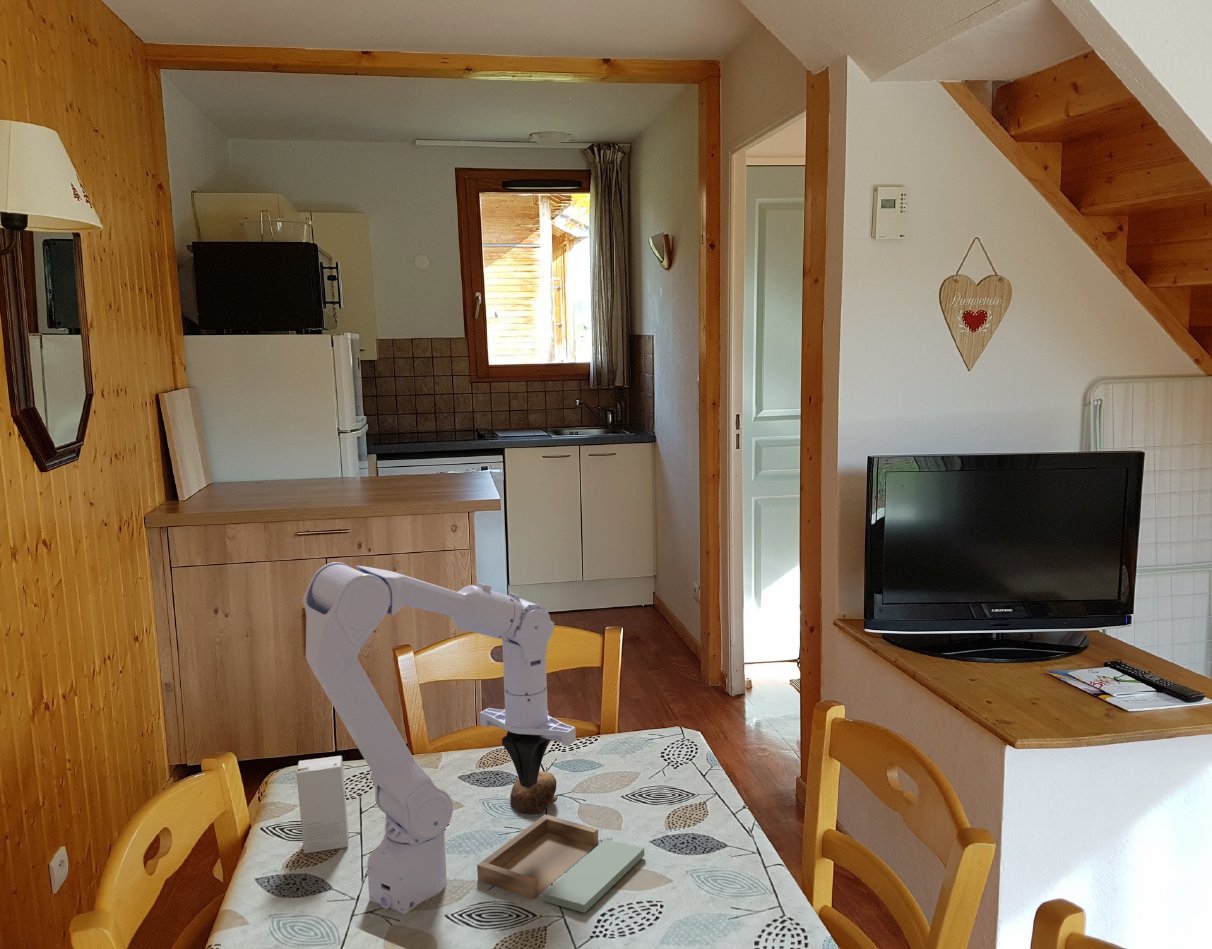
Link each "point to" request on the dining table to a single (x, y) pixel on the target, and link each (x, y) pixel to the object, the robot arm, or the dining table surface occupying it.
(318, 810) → the skincare box
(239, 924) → the dining table surface
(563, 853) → the crate
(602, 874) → the panel
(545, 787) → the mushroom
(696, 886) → the dining table surface
